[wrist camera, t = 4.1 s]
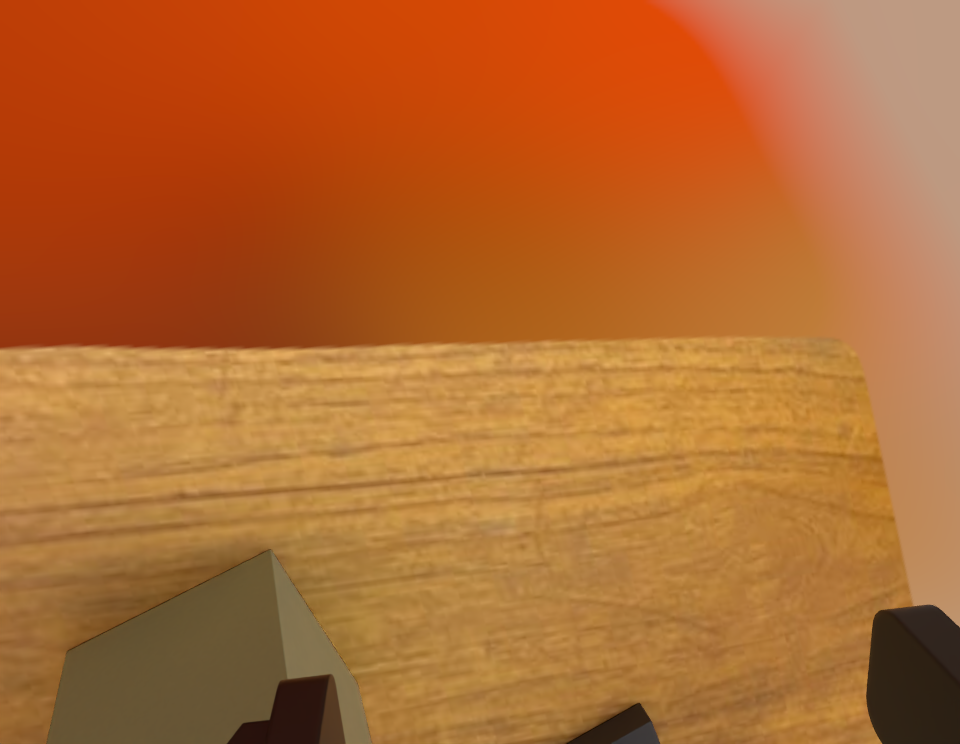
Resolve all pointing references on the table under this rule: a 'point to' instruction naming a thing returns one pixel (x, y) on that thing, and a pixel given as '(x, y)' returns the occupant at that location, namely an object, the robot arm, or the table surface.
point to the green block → (201, 665)
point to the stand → (622, 730)
